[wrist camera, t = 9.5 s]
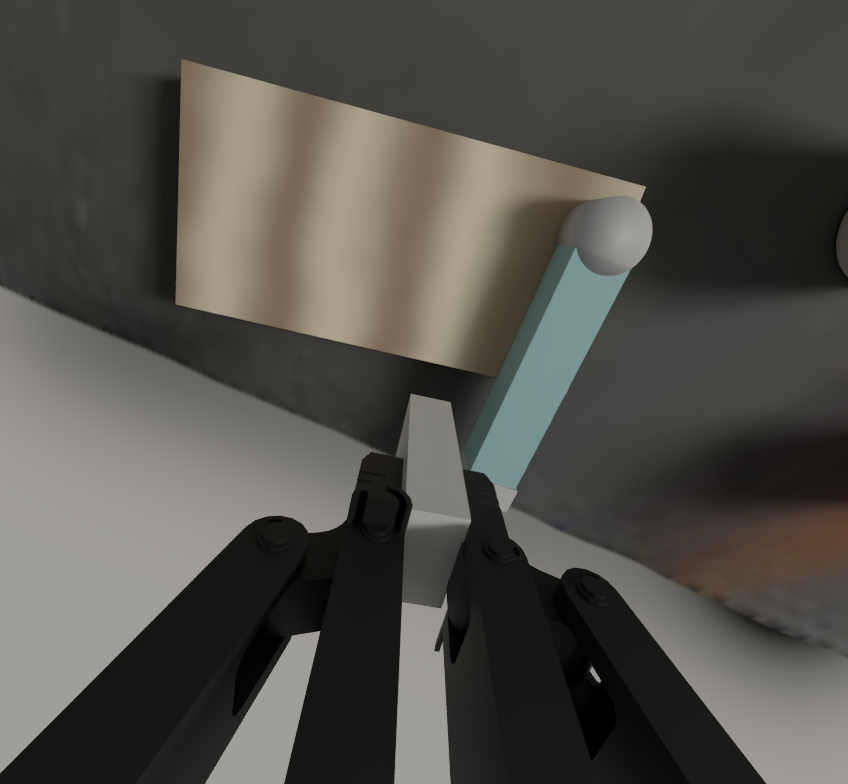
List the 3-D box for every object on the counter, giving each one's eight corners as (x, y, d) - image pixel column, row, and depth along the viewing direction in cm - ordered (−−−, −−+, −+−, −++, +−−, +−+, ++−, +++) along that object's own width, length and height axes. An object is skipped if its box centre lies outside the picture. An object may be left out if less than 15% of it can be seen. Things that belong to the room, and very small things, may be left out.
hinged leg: (576, 189, 22) (600, 182, 19) (636, 215, 22) (669, 212, 19) (451, 467, 28) (454, 496, 25) (500, 484, 28) (509, 513, 25)
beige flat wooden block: (201, 296, 27) (175, 304, 24) (211, 80, 23) (181, 59, 20) (552, 377, 29) (566, 393, 26) (620, 191, 25) (645, 186, 22)
